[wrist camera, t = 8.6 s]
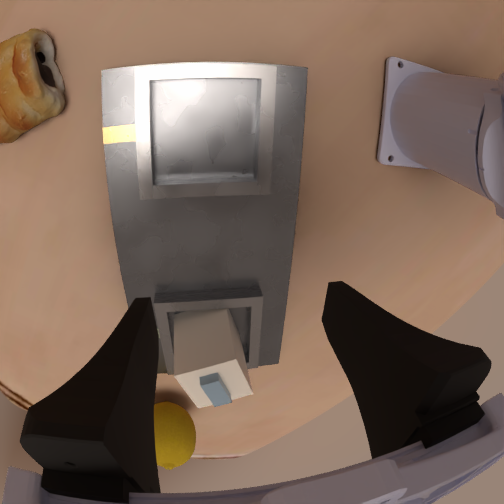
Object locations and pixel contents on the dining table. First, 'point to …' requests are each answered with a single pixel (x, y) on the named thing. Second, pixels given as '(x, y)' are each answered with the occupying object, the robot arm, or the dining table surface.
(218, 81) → the panel
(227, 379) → the plug
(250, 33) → the dining table surface
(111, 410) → the robot arm
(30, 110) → the pastry
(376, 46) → the dining table surface
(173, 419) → the lemon
